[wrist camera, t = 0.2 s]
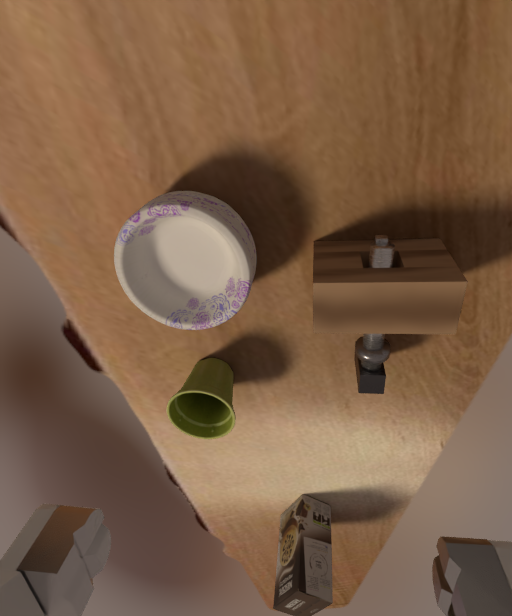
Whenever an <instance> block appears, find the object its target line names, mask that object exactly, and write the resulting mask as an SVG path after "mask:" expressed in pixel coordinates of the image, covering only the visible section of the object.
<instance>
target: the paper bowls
mask: <svg viewBox="0 0 512 616" xmlns="http://www.w3.org/2000/svg"><path fill="white" fill-rule="evenodd" d="M114 263H115V269H116V273H117V276H118V279H119V282H120V284H121V286H122V287H123V289H124V291H125V293H126V294H127V295H128V297H129V298H130V299H131V301H132V302H133V303H134V304H135V305H136V306H137V307H138V308H139V309H140V310H142V311H143V312H144V313H145V314H147V315H148V316H150V317H151V318H153V319H155V320H157V321H159V322H160V323H163V324H166V325H168V326H171V327H175V328H179V329H186V330H201V329H207V328H211V327H214V326H217V325H220V324H222V323H224V322H225V321H227V320H229V319H230V318H231V317H233V316H234V315H235V314H236V313H237V312H238V311H239V310H240V309H241V307H242V306H243V305H244V303H245V302H246V300H247V298H248V295H249V293H250V290H251V286H252V282H253V279H254V275H255V271H256V264H257V256H256V247H255V243H254V240H253V237H252V235H251V232H250V230H249V229H248V227H247V225H246V224H245V222H244V221H243V219H242V218H241V217H240V216H239V214H238V213H237V212H236V211H234V210H233V209H232V208H231V207H230V206H229V205H228V204H227V203H225V202H223V201H221V200H219V199H218V198H216V197H214V196H211V195H208V194H203V193H200V192H195V191H174V192H169V193H166V194H163V195H160V196H158V197H156V198H155V199H153V200H151V201H150V202H148V203H147V204H145V205H144V206H143V207H142V208H141V209H139V210H138V211H137V212H136V213H135V214H133V215H132V216H131V217H130V218H129V219H128V220H127V221H126V222H125V224H124V225H123V226H122V228H121V230H120V232H119V234H118V236H117V239H116V242H115V248H114Z"/></svg>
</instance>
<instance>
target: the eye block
mask: <svg viewBox="0 0 512 616" xmlns="http://www.w3.org/2000/svg"><path fill="white" fill-rule="evenodd" d="M373 242H374V240H348V241H314V260H313V333H361V334H456V330H457V326H458V321H459V317H460V313H461V309H462V304H463V300H464V296H465V291H466V287H467V283H468V281H467V280H466V278H465V277H464V275H463V273H462V272H461V270H460V269H459V267H458V266H457V264H456V263H455V261H454V259H453V258H452V256H451V255H450V253H449V252H448V250H447V249H446V247H445V245H444V244H443V242H442V241H441V239H440V238H427V239H388V242H391V243H393V244H394V245H395V248H394V257H393V266H392V268H369V255H370V245H371V243H373Z"/></svg>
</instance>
